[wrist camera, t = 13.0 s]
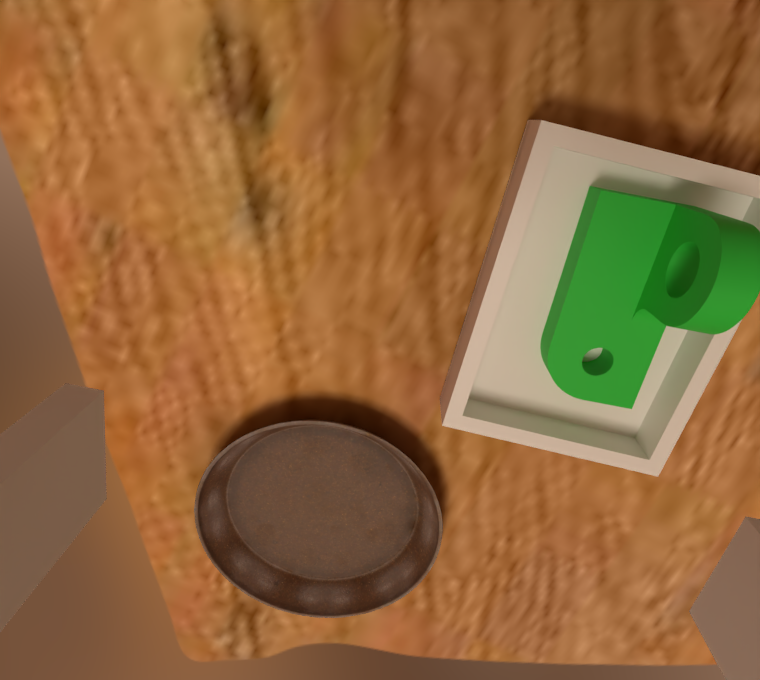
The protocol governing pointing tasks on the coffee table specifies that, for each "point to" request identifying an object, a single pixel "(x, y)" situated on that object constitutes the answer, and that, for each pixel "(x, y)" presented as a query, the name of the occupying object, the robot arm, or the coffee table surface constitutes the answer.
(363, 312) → the coffee table surface
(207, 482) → the plant saucer
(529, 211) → the tray
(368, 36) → the coffee table surface
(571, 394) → the mechanical part
